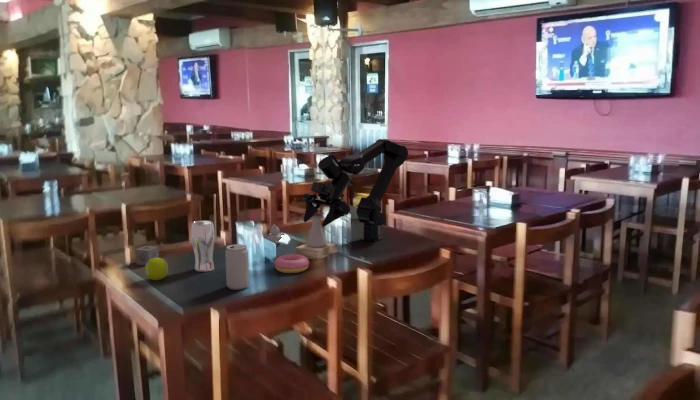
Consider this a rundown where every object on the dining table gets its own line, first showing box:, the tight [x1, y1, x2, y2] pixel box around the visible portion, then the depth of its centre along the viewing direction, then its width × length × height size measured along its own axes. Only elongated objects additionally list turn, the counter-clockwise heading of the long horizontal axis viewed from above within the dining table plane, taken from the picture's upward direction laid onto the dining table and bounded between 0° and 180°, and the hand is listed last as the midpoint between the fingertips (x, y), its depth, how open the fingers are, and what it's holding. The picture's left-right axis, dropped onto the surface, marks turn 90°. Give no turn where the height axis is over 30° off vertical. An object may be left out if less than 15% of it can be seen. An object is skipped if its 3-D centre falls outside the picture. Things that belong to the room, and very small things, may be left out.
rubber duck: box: [267, 223, 285, 245], centre depth 216 cm, size 5×7×8 cm
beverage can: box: [224, 243, 250, 291], centre depth 168 cm, size 6×6×12 cm
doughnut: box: [273, 253, 310, 274], centre depth 186 cm, size 11×11×4 cm
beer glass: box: [190, 219, 216, 273], centre depth 185 cm, size 7×7×15 cm
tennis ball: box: [144, 257, 169, 281], centre depth 176 cm, size 7×7×7 cm
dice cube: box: [135, 245, 160, 266], centre depth 193 cm, size 5×5×5 cm
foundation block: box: [295, 241, 339, 261], centre depth 203 cm, size 12×9×3 cm
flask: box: [305, 215, 328, 247], centre depth 202 cm, size 7×7×10 cm
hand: (313, 223), depth 200 cm, fingers open, 9 cm apart
